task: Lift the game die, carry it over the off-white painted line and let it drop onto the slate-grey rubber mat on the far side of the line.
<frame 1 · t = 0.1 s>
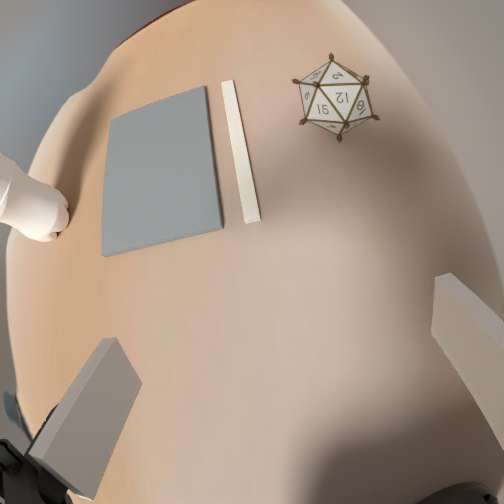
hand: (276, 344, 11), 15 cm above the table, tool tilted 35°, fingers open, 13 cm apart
throw line: (238, 140, 32), on the table
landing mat: (155, 163, 33), on the table
water bottle: (58, 221, 34), on the table
game die: (334, 122, 31), on the table
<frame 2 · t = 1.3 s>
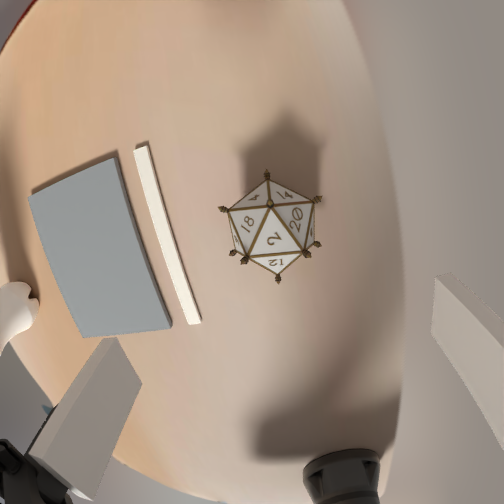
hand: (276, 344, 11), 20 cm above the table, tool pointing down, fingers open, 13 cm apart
throw line: (167, 240, 30), on the table
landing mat: (93, 258, 32), on the table
water bottle: (27, 297, 35), on the table
game die: (271, 216, 29), on the table
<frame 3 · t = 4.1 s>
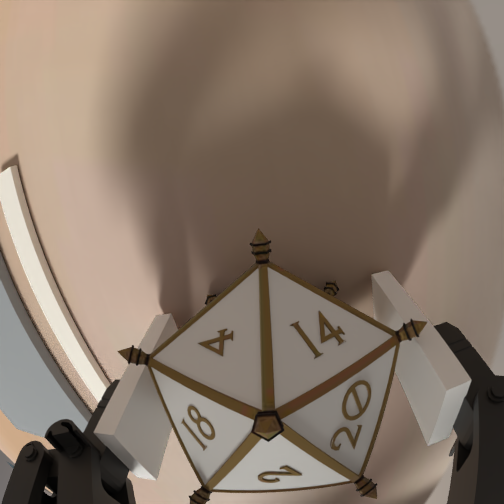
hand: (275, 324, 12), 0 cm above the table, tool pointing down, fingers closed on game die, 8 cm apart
throw line: (76, 344, 14), on the table
game die: (274, 316, 13), on the table, touching gripper
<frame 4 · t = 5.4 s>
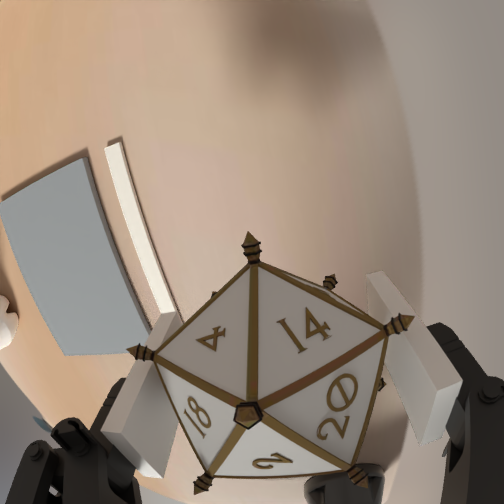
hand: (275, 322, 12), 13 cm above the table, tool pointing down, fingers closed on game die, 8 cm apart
throw line: (147, 253, 25), on the table
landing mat: (68, 273, 27), on the table
water bottle: (7, 310, 30), on the table
game die: (278, 310, 13), point 12 cm above the table, touching gripper
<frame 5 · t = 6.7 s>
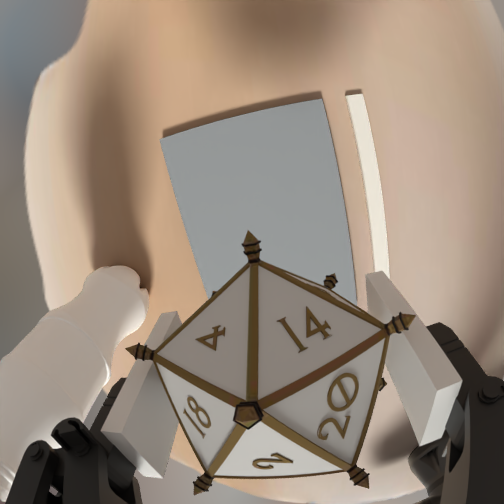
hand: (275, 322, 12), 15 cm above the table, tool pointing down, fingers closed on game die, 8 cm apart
throw line: (374, 204, 25), on the table
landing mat: (267, 227, 27), on the table
water bottle: (125, 287, 30), on the table
game die: (278, 309, 13), point 14 cm above the table, touching gripper
when the fingers open (4 cm above the table, at t = 8.4 s): game die drops 2 cm, resting on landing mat.
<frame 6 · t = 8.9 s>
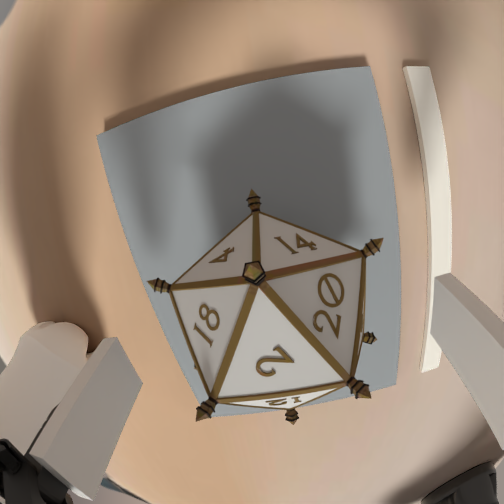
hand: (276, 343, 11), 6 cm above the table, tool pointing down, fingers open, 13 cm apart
throw line: (437, 242, 15), on the table
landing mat: (273, 278, 16), on the table
water bottle: (75, 346, 19), on the table
game die: (275, 285, 15), point 1 cm above the table, touching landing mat
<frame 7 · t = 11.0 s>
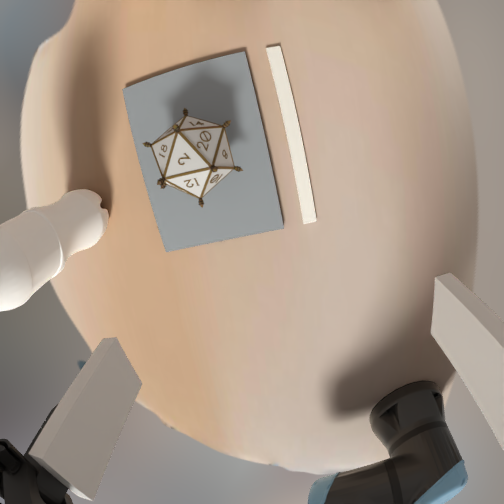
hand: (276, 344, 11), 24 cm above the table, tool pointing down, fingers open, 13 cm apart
throw line: (293, 133, 30), on the table
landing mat: (201, 153, 31), on the table
water bottle: (91, 212, 34), on the table
game die: (201, 153, 30), point 1 cm above the table, touching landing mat
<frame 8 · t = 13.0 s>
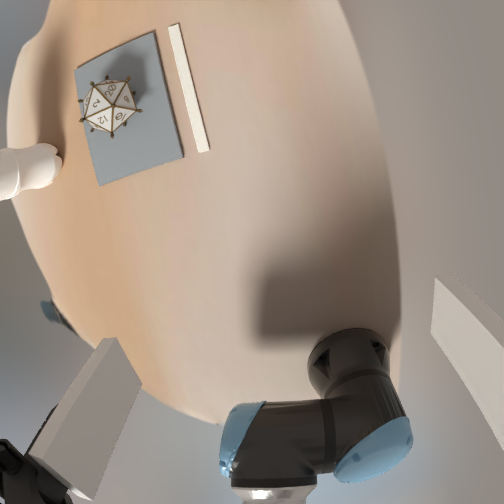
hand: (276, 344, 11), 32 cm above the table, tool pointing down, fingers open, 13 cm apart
throw line: (187, 84, 35), on the table
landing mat: (123, 108, 37), on the table
water bottle: (51, 163, 40), on the table
game die: (122, 107, 36), point 1 cm above the table, touching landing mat
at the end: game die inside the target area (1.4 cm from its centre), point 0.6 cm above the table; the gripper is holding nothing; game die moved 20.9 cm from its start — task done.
